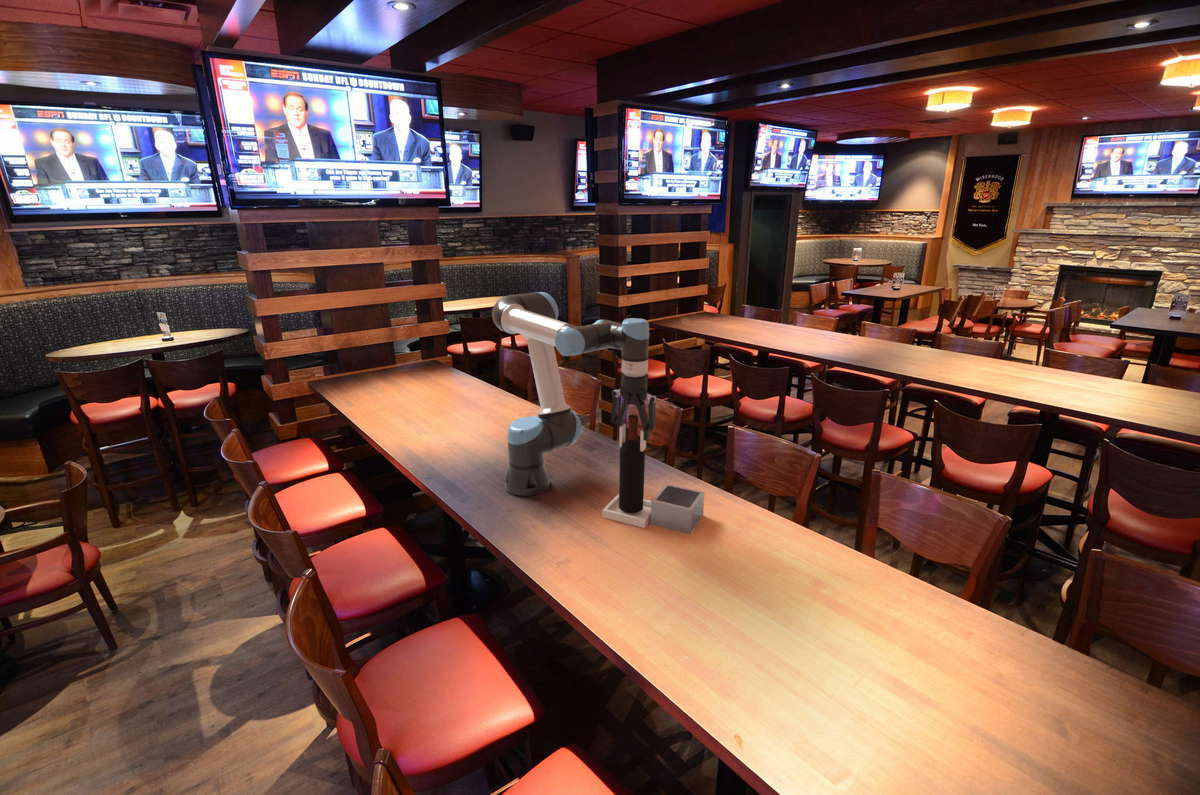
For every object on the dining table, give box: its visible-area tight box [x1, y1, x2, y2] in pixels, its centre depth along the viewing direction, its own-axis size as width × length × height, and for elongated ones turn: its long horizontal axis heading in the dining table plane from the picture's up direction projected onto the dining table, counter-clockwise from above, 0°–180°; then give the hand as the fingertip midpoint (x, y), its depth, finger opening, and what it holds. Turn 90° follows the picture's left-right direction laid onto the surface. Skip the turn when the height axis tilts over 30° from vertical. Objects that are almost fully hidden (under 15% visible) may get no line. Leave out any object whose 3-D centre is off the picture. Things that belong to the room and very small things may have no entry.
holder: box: [649, 483, 705, 535], centre depth 175 cm, size 12×12×8 cm
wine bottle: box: [618, 414, 646, 513], centre depth 174 cm, size 8×8×30 cm
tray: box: [601, 493, 651, 529], centre depth 179 cm, size 14×12×2 cm
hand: (632, 447), depth 172 cm, fingers closed on wine bottle, 6 cm apart
